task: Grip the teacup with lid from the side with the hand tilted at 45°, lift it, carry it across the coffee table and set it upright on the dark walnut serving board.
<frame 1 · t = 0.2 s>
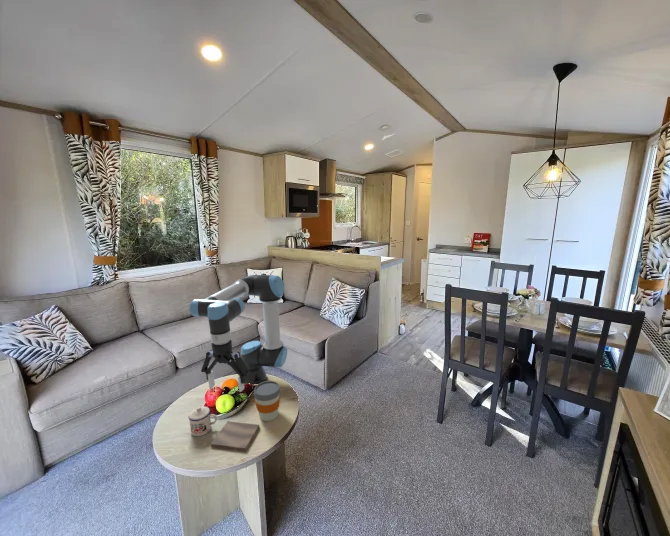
hand: (226, 388, 123), 28 cm above the table, tool pointing down, fingers open, 13 cm apart
teacup with lid: (204, 429, 139), on the table
reusable coffee cup: (268, 415, 148), on the table
walnut board: (236, 436, 134), on the table
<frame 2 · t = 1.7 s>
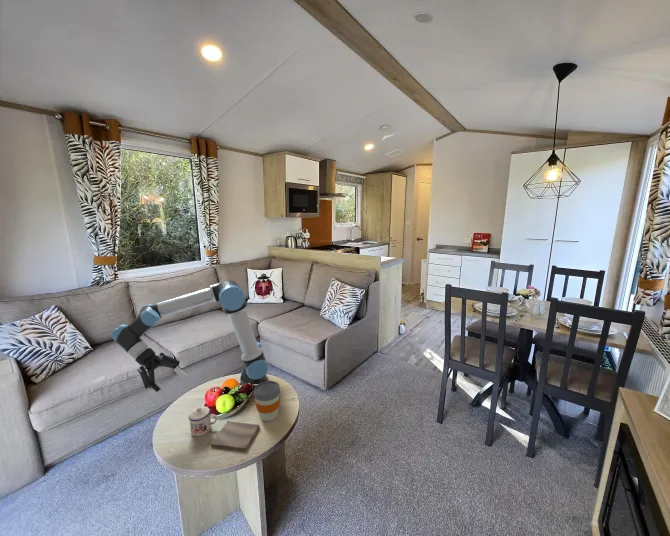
hand: (176, 385, 136), 22 cm above the table, tool tilted 45°, fingers open, 13 cm apart
nothing on the table moved.
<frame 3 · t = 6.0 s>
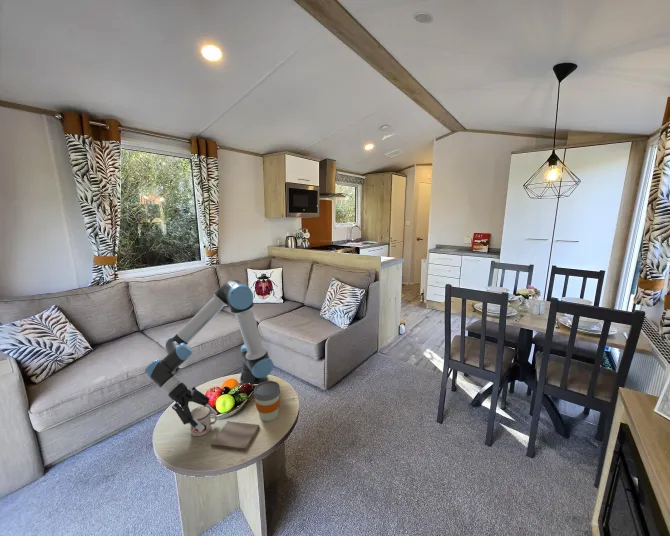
hand: (209, 422, 137), 4 cm above the table, tool tilted 45°, fingers closed on teacup with lid, 9 cm apart
teacup with lid: (204, 429, 139), on the table, touching gripper
everything else where it was.
when the fingers open (7 cm above the table, at t = 11.4 s): teacup with lid drops 1 cm, resting on walnut board.
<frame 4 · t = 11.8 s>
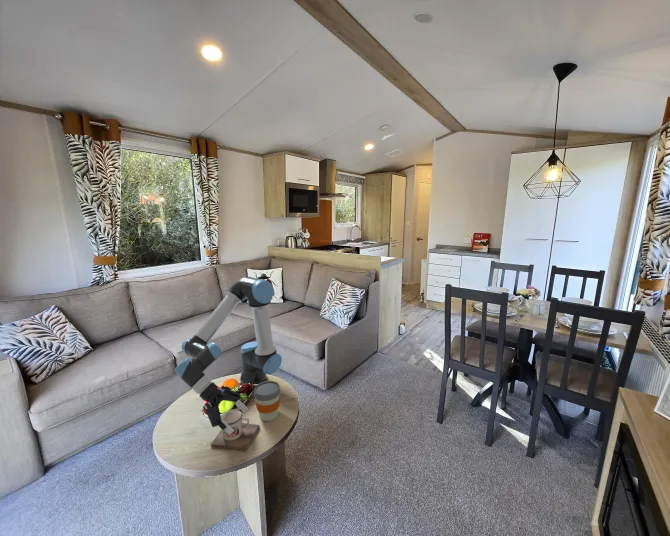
hand: (239, 421, 132), 8 cm above the table, tool tilted 45°, fingers open, 13 cm apart
teacup with lid: (236, 433, 134), point 1 cm above the table, touching walnut board
everything else where it was.
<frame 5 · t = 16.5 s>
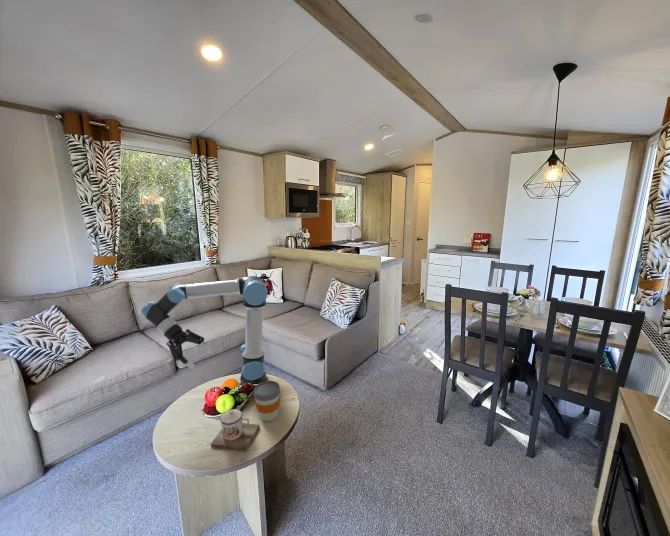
hand: (201, 359, 143), 30 cm above the table, tool tilted 45°, fingers open, 13 cm apart
nothing on the table moved.
at the end: teacup with lid inside the target area on the walnut board (0.4 cm from its centre), point 1.3 cm above the walnut board's base; teacup with lid tilted 0°; the gripper is holding nothing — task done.
